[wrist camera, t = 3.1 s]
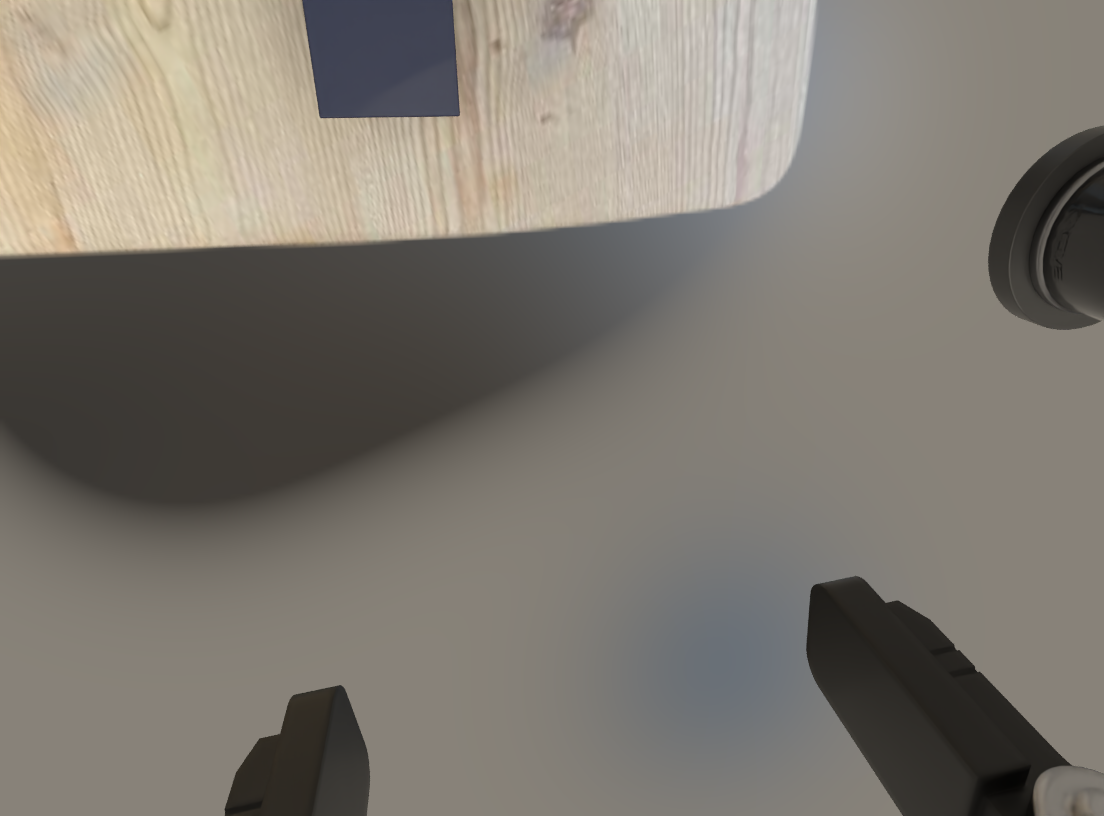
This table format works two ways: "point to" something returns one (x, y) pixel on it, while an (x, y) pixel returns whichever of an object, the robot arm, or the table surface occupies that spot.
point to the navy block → (383, 57)
